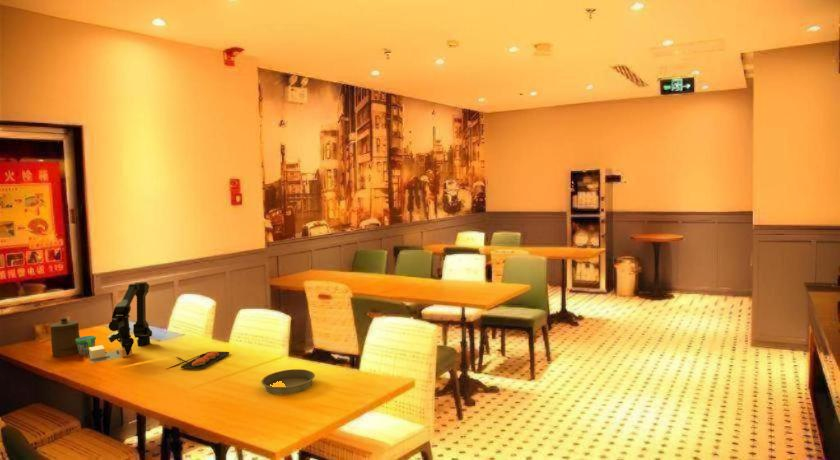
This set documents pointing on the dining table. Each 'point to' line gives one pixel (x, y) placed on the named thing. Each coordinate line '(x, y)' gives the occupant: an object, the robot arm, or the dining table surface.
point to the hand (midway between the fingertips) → (126, 353)
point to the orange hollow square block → (124, 352)
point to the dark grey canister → (64, 337)
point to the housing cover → (96, 352)
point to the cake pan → (289, 381)
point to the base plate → (107, 356)
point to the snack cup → (85, 344)
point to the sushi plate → (202, 360)
